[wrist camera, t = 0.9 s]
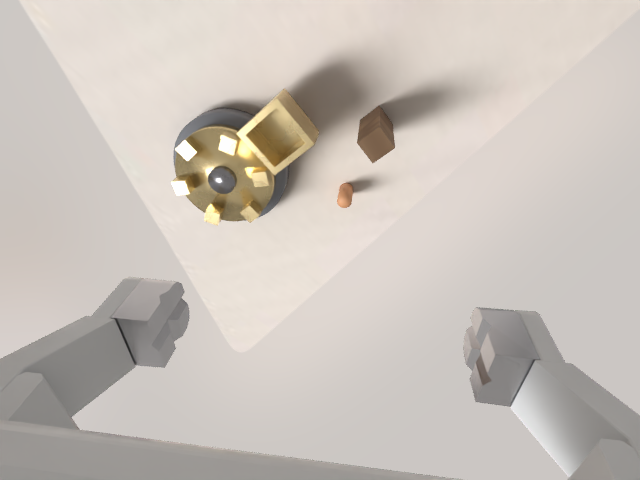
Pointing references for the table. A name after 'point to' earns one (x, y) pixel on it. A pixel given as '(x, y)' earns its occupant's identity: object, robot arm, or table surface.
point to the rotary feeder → (242, 160)
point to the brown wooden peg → (376, 134)
